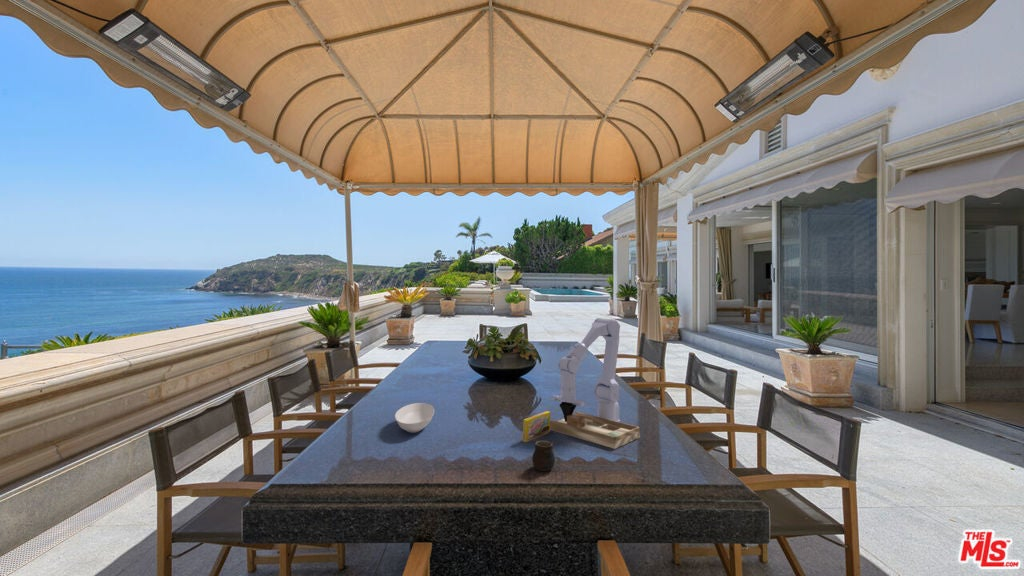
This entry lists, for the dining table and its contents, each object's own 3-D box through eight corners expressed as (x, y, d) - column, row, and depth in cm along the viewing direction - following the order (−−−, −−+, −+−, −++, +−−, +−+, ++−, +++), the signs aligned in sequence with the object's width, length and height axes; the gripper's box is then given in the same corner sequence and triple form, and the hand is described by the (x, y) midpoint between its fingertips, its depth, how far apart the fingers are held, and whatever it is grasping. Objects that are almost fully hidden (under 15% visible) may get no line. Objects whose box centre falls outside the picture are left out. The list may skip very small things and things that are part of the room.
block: (574, 423, 186) (574, 413, 186) (584, 426, 182) (584, 416, 182) (566, 425, 182) (567, 415, 182) (577, 428, 178) (577, 418, 178)
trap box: (575, 420, 198) (576, 411, 198) (639, 437, 177) (640, 427, 177) (549, 429, 185) (549, 419, 185) (614, 448, 164) (615, 437, 164)
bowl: (429, 439, 171) (430, 423, 171) (388, 440, 170) (388, 423, 170) (437, 416, 201) (437, 403, 201) (402, 417, 200) (402, 403, 200)
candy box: (526, 443, 169) (527, 420, 169) (521, 441, 171) (522, 419, 171) (550, 432, 182) (550, 411, 182) (545, 431, 183) (546, 410, 183)
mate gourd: (540, 462, 150) (541, 431, 150) (560, 468, 146) (561, 437, 146) (527, 468, 145) (528, 437, 145) (546, 475, 140) (547, 442, 140)
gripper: (547, 385, 187) (547, 419, 187) (577, 392, 177) (576, 427, 177) (558, 383, 192) (558, 416, 192) (587, 389, 182) (587, 423, 182)
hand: (567, 421), depth 185 cm, fingers closed
